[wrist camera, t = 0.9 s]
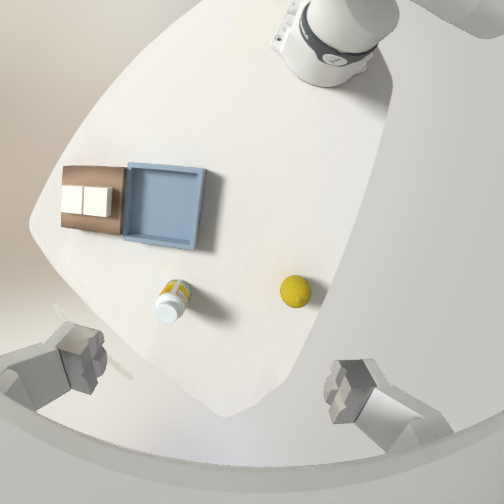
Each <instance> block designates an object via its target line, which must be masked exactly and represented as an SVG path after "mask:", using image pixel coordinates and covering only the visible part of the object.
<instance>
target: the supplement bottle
mask: <svg viewBox="0 0 504 504" xmlns="http://www.w3.org/2000/svg"><path fill="white" fill-rule="evenodd" d="M190 296H191V290H190V287H189V286H188V284H187V283H186V282H184V281H182V280H179V279H174V280H171V281H170V282H168V283H167V285H166V286H165V288H164V289H163V291H162V292H161V294H160V295H159V297H158V299H157V301H156V310H155V314H156V317H157V319H158V320H159V321H160V322H162V323H164V324H172V323H174V322H175V321H176V320H177V319H178V318H180V317H181V316H182V315H183V313H184V311H185V308H186V306H187V303H188V301H189V299H190Z"/></svg>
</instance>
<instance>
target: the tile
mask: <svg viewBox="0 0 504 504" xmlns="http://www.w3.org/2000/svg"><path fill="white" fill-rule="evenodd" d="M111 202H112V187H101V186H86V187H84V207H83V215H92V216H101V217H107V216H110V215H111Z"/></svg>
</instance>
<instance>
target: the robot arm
mask: <svg viewBox="0 0 504 504" xmlns="http://www.w3.org/2000/svg"><path fill="white" fill-rule="evenodd" d="M411 1H413V2H414V3H416V4H418V5H420V6H421V7H423V8H425V9H427V10H428V11H430V12H431V13H433V14H434V15H436V16H437V17H439V18H440V19H442V20H444V21H446V22H449V23H450V24H452V25H454V26H456V27H458V28H460V29H462V30H464V31H466V32H467V33H469V34H471V35H473V36H475V37H478V38H481V39H491V38H496V37H498V36H501V35H503V34H504V0H411ZM398 20H399V9H398V5H397V3H396V1H395V0H291V1H290V3H289V5H288V7H287V9H286V11H285V13H284V15H283V17H282V19H281V21H280V23H279V25H278V27H277V30H276V32H275V34H274V36H273V38H272V40H271V43H270V47H271V48H272V49H273V50H274V51H275V52H276V53H278V54H279V55H280V56H281V57H282V58H283V60H284V61H285V63H286V65H287V66H288V68H289V69H290V70H291V71H292V72H293V73H294V74H295V75H296V76H297V77H298V78H300V79H301V80H303V81H305V82H307V83H309V84H312V85H315V86H320V87H334V86H338V85H341V84H343V83H345V82H346V81H347V80H348V79H350V78H351V77H352V76H353V75H355V74H359V73H362V72H364V71H365V70H366V69H367V62H368V60H369V59H370V58H371V57H372V56H373V51H374V49H375V48H376V47H377V45H378V43H379V42H380V41H381V40H382V39H384V38H385V37H386V36H387V35H389V34H390V33H391V32H392V31H393V30H394V29H395V28H396V26H397V24H398ZM277 39H280V40H281V41H278V40H277ZM103 343H104V336H103V333H102V332H101V331H98V330H95V329H91V328H88V327H84V326H81V325H77V324H74V323H71V322H64V324H62V326H61V327H59V328H58V330H57V331H56V332H55V333H54V334H53V335H52V336H51V337H50V338H49V339H48V340H47V341H46V342H45V343H44V344H43V343H38V344H35V345H32V346H29V347H26V348H22V349H19V350H16V351H13V352H10V353H7V354H4V355H1V356H0V504H504V410H503V411H502V412H500V413H498V414H496V415H494V416H492V417H490V418H488V419H486V420H484V421H482V422H480V423H477V424H475V425H473V426H471V427H468V428H466V429H464V430H461V431H459V432H456V433H454V432H453V430H452V428H451V427H450V425H449V424H448V422H447V421H446V419H445V418H444V416H443V415H442V413H441V412H439V411H438V410H436V409H434V408H432V407H430V406H429V405H427V404H425V403H423V402H422V401H420V400H418V399H416V398H415V397H413V396H411V395H409V394H408V393H406V392H404V391H403V390H401V389H399V388H397V387H396V386H390V384H389V382H388V381H387V379H386V377H385V376H384V374H383V373H382V371H381V369H380V368H379V366H378V365H377V363H376V361H375V360H373V359H360V360H335V361H334V362H333V364H332V366H331V371H332V374H331V375H330V376H329V377H328V378H327V379H326V382H325V385H324V398H325V401H326V402H327V403H328V404H329V405H330V406H331V407H330V409H329V413H330V416H331V420H332V423H333V424H344V423H355V425H356V426H357V427H358V428H360V429H361V430H362V431H363V432H364V433H365V434H366V435H367V436H368V437H370V438H371V439H372V440H373V441H374V442H375V443H376V444H377V445H378V446H380V447H381V448H382V449H383V450H384V451H385V452H386V453H385V454H384V455H380V456H374V457H369V458H364V459H359V460H352V461H345V462H338V463H330V464H321V465H309V466H290V467H247V466H231V465H219V464H209V463H201V462H193V461H187V460H181V459H175V458H170V457H164V456H159V455H154V454H151V453H146V452H142V451H138V450H134V449H131V448H127V447H123V446H120V445H116V444H113V443H110V442H107V441H104V440H101V439H98V438H95V437H92V436H89V435H87V434H84V433H81V432H79V431H76V430H74V429H71V428H69V427H66V426H64V425H62V424H59V423H57V422H55V421H52V420H51V419H48V418H46V417H44V416H42V415H40V414H38V413H37V412H36V410H38V409H40V408H42V407H43V406H45V405H47V404H48V403H50V402H52V401H53V400H55V399H57V398H58V397H60V396H62V395H63V394H65V393H67V392H68V391H70V390H71V389H74V390H77V391H80V392H83V393H86V394H89V395H91V394H92V392H93V391H94V389H95V387H96V385H97V384H98V382H97V377H99V376H101V375H103V373H104V371H105V369H106V365H107V353H106V351H105V349H104V348H103V346H102V344H103Z"/></svg>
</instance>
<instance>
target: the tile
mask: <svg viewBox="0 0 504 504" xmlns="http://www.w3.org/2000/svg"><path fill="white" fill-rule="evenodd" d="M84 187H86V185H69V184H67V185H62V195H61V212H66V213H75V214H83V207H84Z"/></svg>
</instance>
